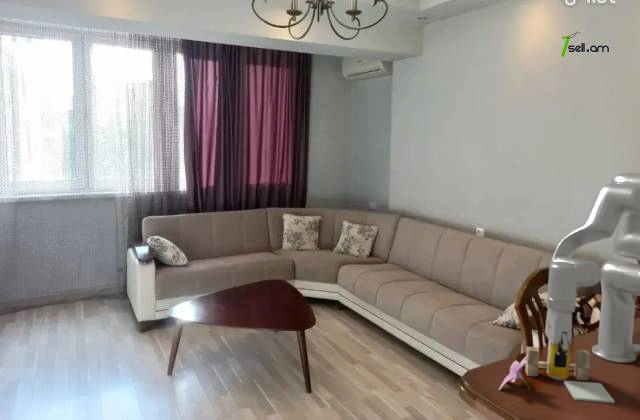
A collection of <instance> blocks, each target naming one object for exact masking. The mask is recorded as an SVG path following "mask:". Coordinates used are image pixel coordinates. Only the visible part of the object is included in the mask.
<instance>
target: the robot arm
mask: <svg viewBox="0 0 640 420" xmlns="http://www.w3.org/2000/svg"><path fill="white" fill-rule="evenodd" d="M584 220H585V221H584V222H583V224H582V225H580V226H579V227H578V228H576V229H574V230H572V231H571V232H569V234H567V235H566V236H565V237H564V238H562V240H561V241H560V242H559V243H558V245H557V246H556V248H555V251H554V254H553V255H552V258H551V260H550V263H549V269H548V284H547V297H546V299H547V300H546V309H547V312H546V318H545V319H546V320H545V329H544V334H545V335H546V337H547V339H548V341H549V340H550V341H551V343H552V344H553V345H555V344H556V353H555V359H554V366H555V367H563V368H565V367H566V362H567V352H568V349H569V347H568V346H569V345H570V343H571V344H572V342H571V335H572V336H573V332H572V331H573V330H572V329H573V314H572V313H575V312H576V302H577V301H576V300H577V288H579V287H580V288H581V287H584V288H585V287H586V288H588V287H593V286H595V285H597V284H598V283H599V282H600V286H601V287H600V288H601V302H600V315H599V327H598V337H597V339H598V340H597V344H595V345H592V347H591V351H592V353H593V355H595V356H597V358H598V357H599V358H600V359H603V360H606V361H611V362H615V363H622V364H626V363H632V362H635V361H636V360H637V354H638V353H640V344H634V343H633V335H634V334H633V333H634V325H635V313H636V305H635V300H634V298H633V295H634V296H639V297H640V264H638V263H632V262H629V261H623V260H617V259H616V260H609V261H606V262H604V263H603V264H602V266H599V265H598V264H597V263H595V262H593V261H589V260H585V259H581V258H577V257H572V255H573V254H574V253H575V251H577V250H578V249H579V248H581V247H583V246H585V245H588V244H591V243H595V242H599V241H603V240H608V239H610V238H612V237H613V236H614V238H613V243H612V250H613V252H614V254H616V255H617V256H619V257H623V258H625V259H626V258H627V259H631V260H636V261H640V173H639V172H623V173H621V172H620V173H618V174H615V175H614V176H613V178H612V179H611V183H607V184H604V185H602V186H601V187H600V188H599V190H598V192H597V193H596V196H595V197H594V200H593V202H592V205H591V207H590V209H589V211H588V213H587V215H586V218H585V219H584ZM614 234H615V235H614ZM567 340H568V341H567ZM560 341H562V344H558V343H559V342H560ZM568 342H569V343H568ZM559 346H562V348H560V349H559Z"/></svg>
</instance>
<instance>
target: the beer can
mask: <svg viewBox="0 0 640 420" xmlns="http://www.w3.org/2000/svg"><path fill="white" fill-rule="evenodd" d="M572 339H573V334H572V335H571V343H570V345H569V346H568V347H569V349H568V352H567V362H566V367H565V368H563V367H555V366H554V359H555V353H556V344H555V345H553V344H552V343H551V341H550V340H549V339H548V345H547V346H548V348H547V361H546V362H547V368H546V374H547V375H548V377H550V378H551V379H553V380H557V381H566V380H567V379H568V378H569V377H570V370H569V368H570V364H571V356H572V354H571V352H572V343H573V342H572ZM567 341H568V340H567ZM568 343H569V342H568ZM558 344H562V341H560V342H559V343H558ZM560 348H562V346H559V349H560Z"/></svg>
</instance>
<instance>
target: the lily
mask: <svg viewBox="0 0 640 420" xmlns="http://www.w3.org/2000/svg"><path fill="white" fill-rule="evenodd" d="M527 356H528V355H527ZM527 356H526V355H525V356H524V358H523V359H522V360H521V361H520V362H519V361H517V360H514V361H513V362H512V364H511V365H510V368H509V373H508V374H507V375H506V376H505V378H504V379H503V382H502V383H501V385H500V386H499V388H498V391H500V390H501V389H502V388H503V386H505V384H506V383H507V382H508V381H511V382H512V383H515V382H516V380H520V379H521V380H523V382H524V383H525V384H526V386H527V387H528V389H529V391H531V387H530V386H529V384H528V383H527V382H526V380H525V379H524V377H523V366H522V365H524V364H525V363H526V362H527V360H526V357H527Z"/></svg>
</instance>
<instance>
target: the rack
mask: <svg viewBox="0 0 640 420" xmlns="http://www.w3.org/2000/svg"><path fill="white" fill-rule="evenodd" d="M525 351H526V352H525V357H526V356H527V355H528V356H527V357H526V359H525V360H527V362H526V363H525V364H524V365H522V368H523V367H524V368H525V369H524V370H525V373H526V376H527V377H536V376H537V377H539V369H547V361H542V360H541V361H540V350H539V348H538V347H537V346H526V349H525ZM590 361H591V354H590V353H589V351H587V350H584V349H583V350H582V349H581V350H580V349H575V355H574V363H570V368H569V371H574V372H573V376H574V377H575V379H576V381H589V376H590V375H589V373H590V363H591V362H590Z"/></svg>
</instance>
